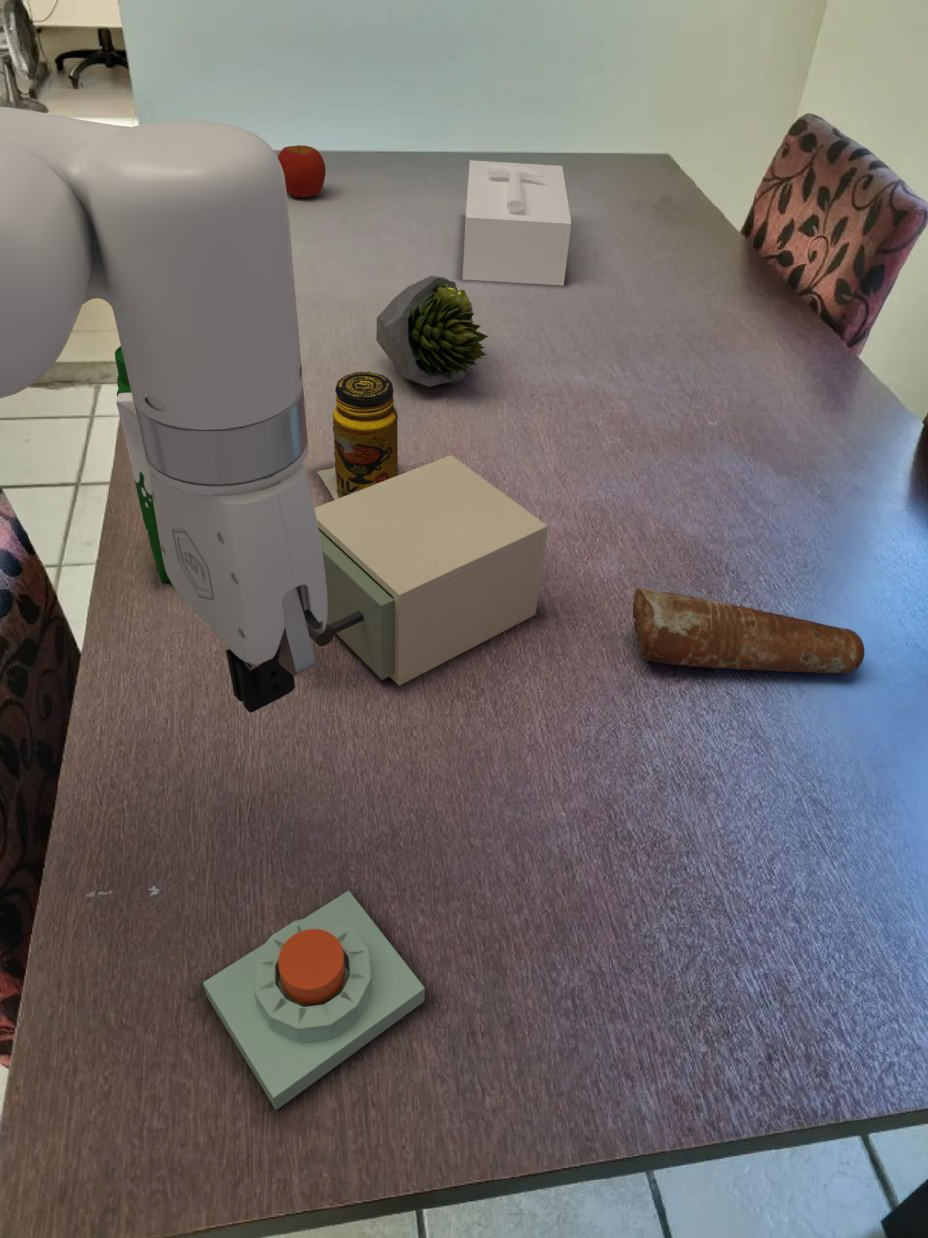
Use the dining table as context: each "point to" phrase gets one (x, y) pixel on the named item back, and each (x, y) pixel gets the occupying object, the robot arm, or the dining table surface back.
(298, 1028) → the block
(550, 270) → the white embossed block
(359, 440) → the condiment
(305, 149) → the apple
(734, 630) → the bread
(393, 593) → the cabinet
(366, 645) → the drawer
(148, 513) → the milk carton
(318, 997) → the button
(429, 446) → the dining table surface
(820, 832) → the dining table surface
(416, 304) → the potted plant
